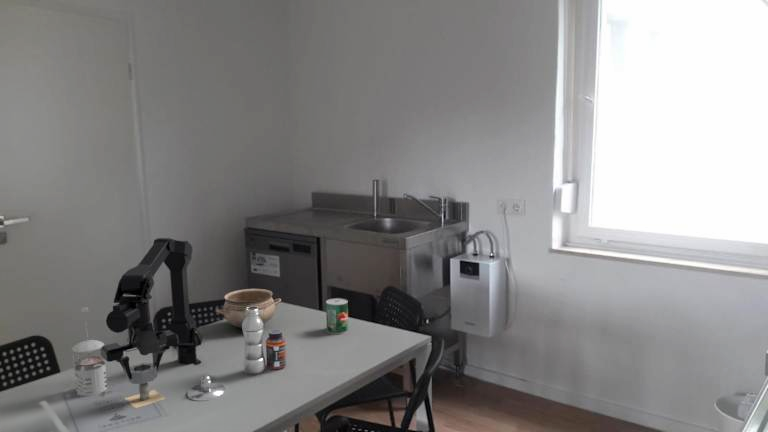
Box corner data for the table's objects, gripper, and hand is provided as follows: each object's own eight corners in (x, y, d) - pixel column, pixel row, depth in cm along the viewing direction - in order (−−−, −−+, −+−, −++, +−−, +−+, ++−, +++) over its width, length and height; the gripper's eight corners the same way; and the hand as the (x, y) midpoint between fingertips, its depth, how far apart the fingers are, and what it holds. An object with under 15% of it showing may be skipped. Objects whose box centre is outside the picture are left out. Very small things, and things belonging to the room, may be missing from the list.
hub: (181, 395, 165) (180, 375, 164) (215, 384, 171) (214, 365, 170) (197, 407, 157) (196, 386, 156) (231, 395, 164) (230, 376, 163)
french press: (85, 404, 160) (77, 315, 157) (61, 394, 166) (53, 308, 163) (118, 390, 168) (111, 305, 165) (94, 381, 175) (87, 299, 171)
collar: (126, 378, 160) (125, 367, 160) (150, 371, 164) (149, 361, 164) (135, 386, 155) (134, 375, 155) (160, 378, 160) (159, 368, 159)
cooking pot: (224, 341, 207) (222, 307, 205) (209, 326, 223) (207, 294, 221) (291, 327, 220) (290, 295, 218) (272, 314, 236) (271, 284, 234)
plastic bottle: (247, 378, 176) (244, 313, 173) (241, 370, 181) (238, 307, 178) (268, 373, 178) (265, 309, 175) (262, 366, 184) (259, 303, 181)
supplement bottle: (282, 371, 180) (280, 335, 179) (263, 369, 182) (262, 334, 180) (289, 363, 186) (287, 328, 184) (271, 362, 187) (269, 327, 186)
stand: (124, 401, 161) (123, 382, 160) (154, 392, 166) (152, 373, 166) (135, 411, 155) (133, 391, 154) (165, 402, 161) (164, 382, 160)
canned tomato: (347, 334, 212) (346, 304, 210) (325, 334, 212) (324, 304, 210) (349, 326, 220) (348, 298, 218) (327, 326, 220) (327, 298, 218)
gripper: (112, 335, 145) (117, 395, 148) (185, 318, 158) (188, 374, 160) (97, 325, 153) (102, 382, 156) (168, 309, 166) (172, 362, 168)
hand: (142, 375), depth 160 cm, fingers closed on collar, 7 cm apart
